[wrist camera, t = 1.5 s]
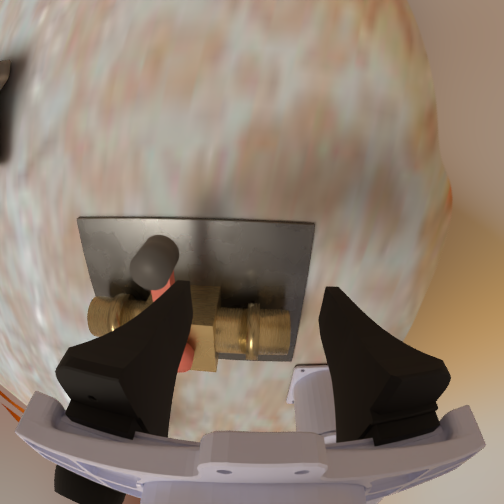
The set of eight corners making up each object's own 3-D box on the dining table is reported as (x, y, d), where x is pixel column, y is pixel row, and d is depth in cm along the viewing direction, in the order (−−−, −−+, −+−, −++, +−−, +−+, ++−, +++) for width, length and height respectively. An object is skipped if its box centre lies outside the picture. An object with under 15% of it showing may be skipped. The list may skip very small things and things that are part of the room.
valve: (313, 223, 22) (329, 256, 17) (291, 358, 30) (295, 399, 25) (78, 217, 22) (44, 244, 17) (113, 343, 30) (97, 377, 25)
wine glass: (116, 379, 33) (74, 500, 16) (159, 416, 38) (135, 524, 20) (77, 383, 36) (37, 481, 18) (117, 417, 40) (90, 508, 22)
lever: (196, 363, 22) (191, 386, 20) (164, 359, 22) (157, 382, 20) (181, 234, 17) (170, 254, 14) (139, 233, 17) (122, 252, 14)
